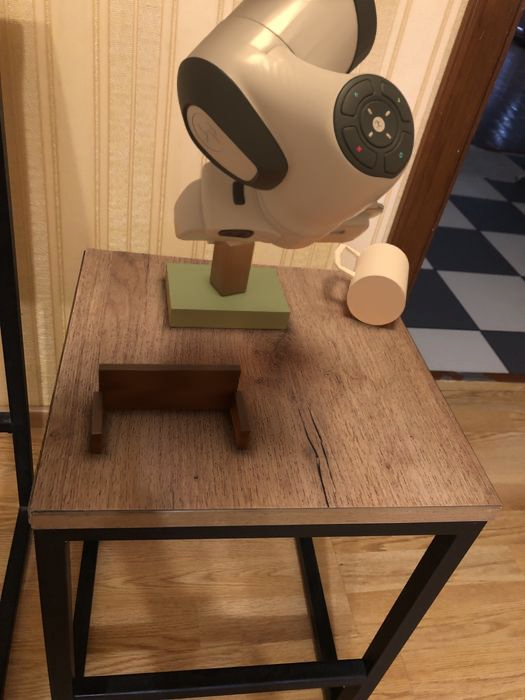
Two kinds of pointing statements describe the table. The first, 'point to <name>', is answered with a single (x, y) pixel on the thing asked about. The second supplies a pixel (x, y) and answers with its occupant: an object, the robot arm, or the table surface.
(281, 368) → the table surface
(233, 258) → the wooden block
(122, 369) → the frame
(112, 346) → the table surface
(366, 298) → the cup
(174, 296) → the board
